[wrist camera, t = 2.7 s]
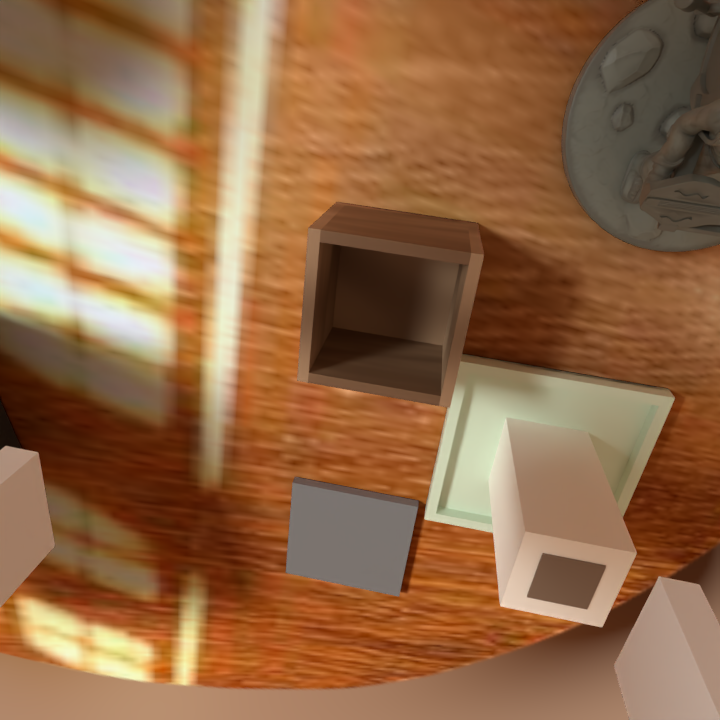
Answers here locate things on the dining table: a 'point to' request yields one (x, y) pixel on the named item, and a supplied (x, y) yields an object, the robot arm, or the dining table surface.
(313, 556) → the slate coaster
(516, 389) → the green tray
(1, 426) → the flower pot
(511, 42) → the dining table surface
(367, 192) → the dining table surface
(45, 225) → the dining table surface
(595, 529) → the cream square pillar
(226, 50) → the dining table surface
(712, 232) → the figurine
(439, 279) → the walnut open box
